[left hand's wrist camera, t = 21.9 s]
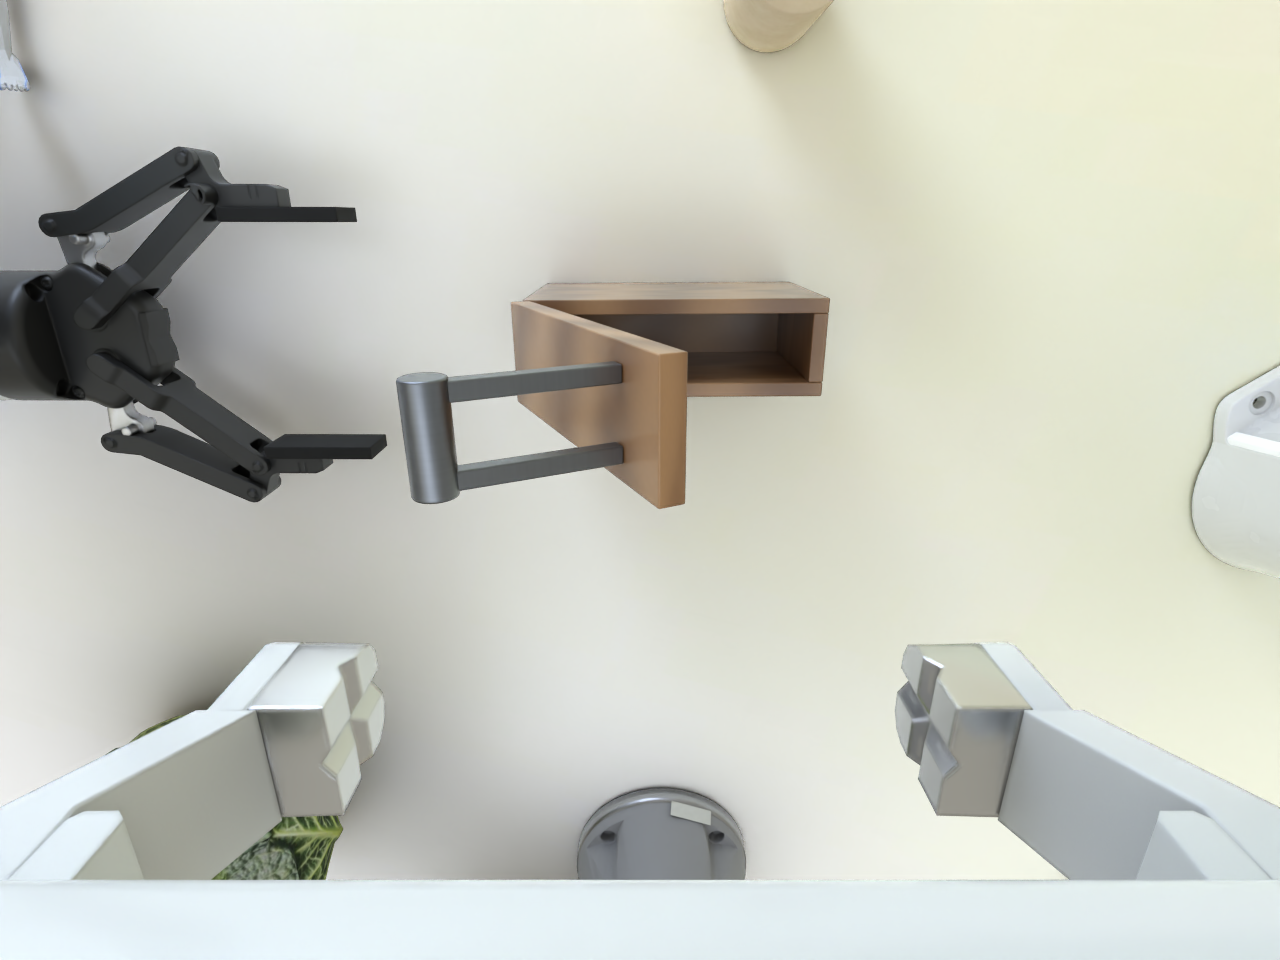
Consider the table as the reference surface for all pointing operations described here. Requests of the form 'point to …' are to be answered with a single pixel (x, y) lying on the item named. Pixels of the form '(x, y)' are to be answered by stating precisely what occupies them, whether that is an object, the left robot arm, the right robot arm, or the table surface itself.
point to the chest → (715, 329)
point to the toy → (9, 57)
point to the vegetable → (283, 846)
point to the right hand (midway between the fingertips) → (364, 337)
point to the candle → (772, 21)
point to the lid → (560, 409)
